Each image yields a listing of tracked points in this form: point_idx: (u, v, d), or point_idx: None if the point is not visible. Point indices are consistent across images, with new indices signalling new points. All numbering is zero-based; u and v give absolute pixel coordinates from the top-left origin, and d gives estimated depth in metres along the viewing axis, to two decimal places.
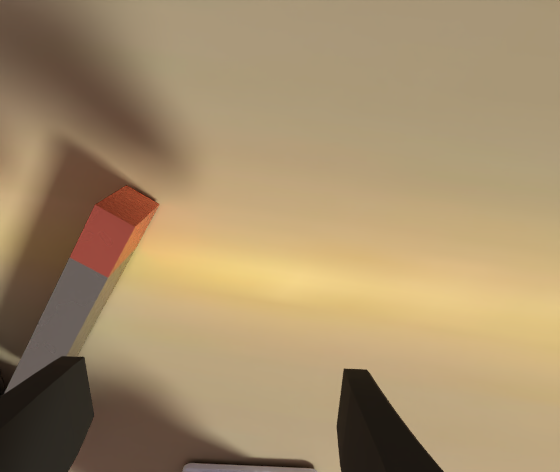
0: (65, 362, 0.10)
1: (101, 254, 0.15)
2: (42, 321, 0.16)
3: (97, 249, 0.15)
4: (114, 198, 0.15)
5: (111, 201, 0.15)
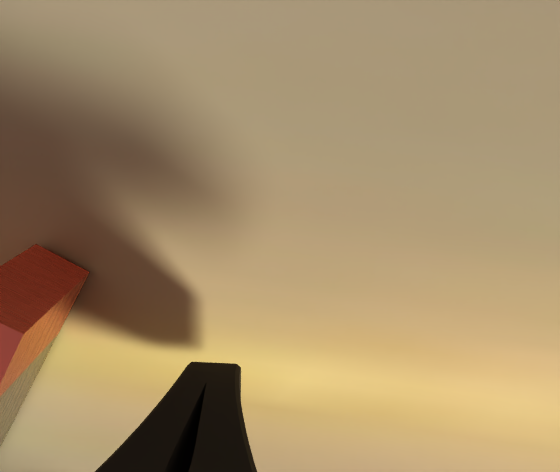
0: (200, 368, 0.10)
1: None
2: None
3: None
4: (0, 276, 0.09)
5: None
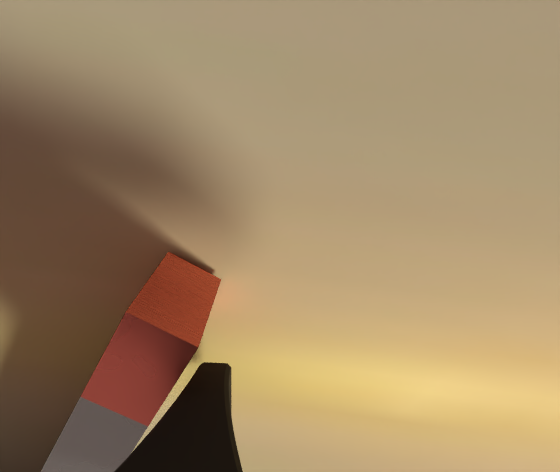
0: (212, 369, 0.10)
1: (136, 390, 0.08)
2: None
3: (129, 383, 0.08)
4: (155, 286, 0.09)
5: (151, 294, 0.09)
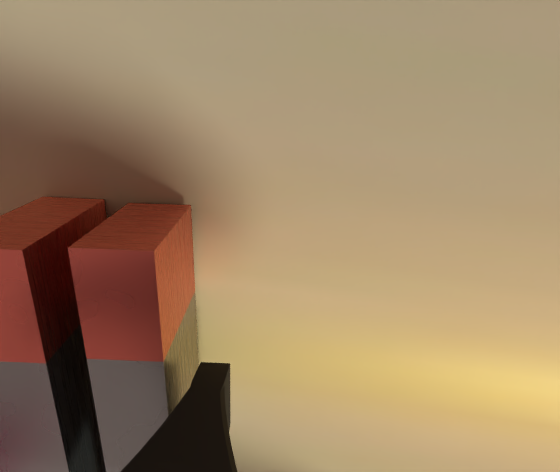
0: (216, 369, 0.10)
1: (129, 328, 0.08)
2: None
3: (119, 323, 0.08)
4: (107, 225, 0.08)
5: (102, 231, 0.08)
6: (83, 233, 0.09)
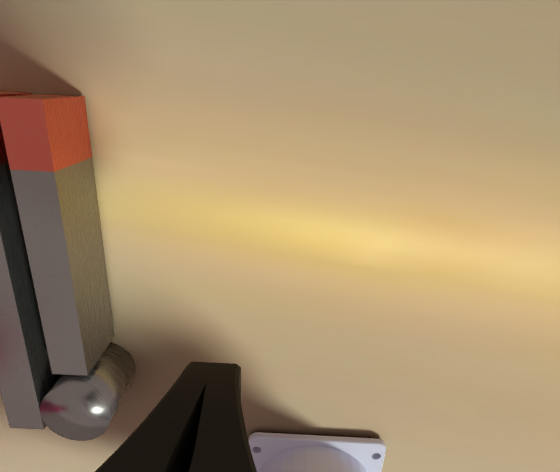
0: (200, 368, 0.10)
1: (33, 149, 0.14)
2: (30, 253, 0.15)
3: (26, 145, 0.14)
4: (24, 95, 0.14)
5: (18, 96, 0.14)
6: None
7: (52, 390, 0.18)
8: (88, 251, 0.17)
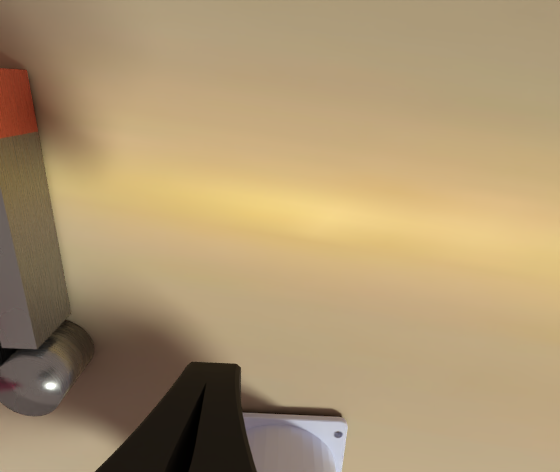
0: (200, 368, 0.10)
1: None
2: None
3: None
4: None
5: None
6: None
7: (3, 364, 0.18)
8: (35, 224, 0.17)
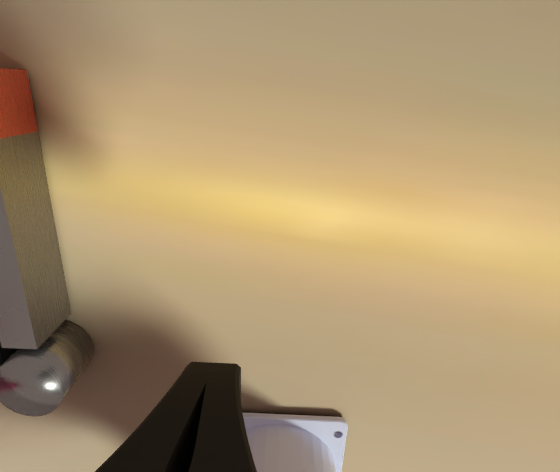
0: (200, 368, 0.10)
1: None
2: None
3: None
4: None
5: None
6: None
7: (3, 364, 0.18)
8: (35, 224, 0.17)
